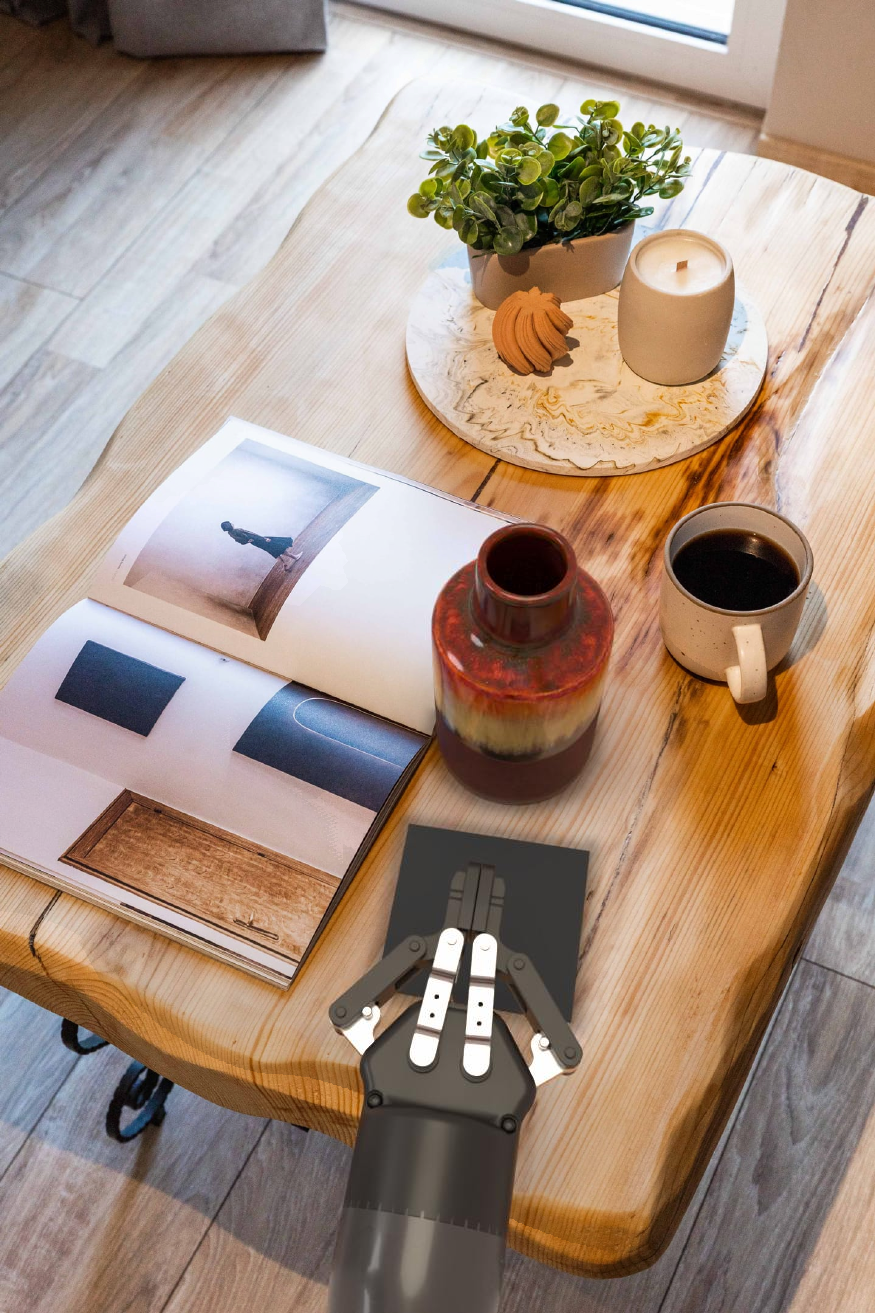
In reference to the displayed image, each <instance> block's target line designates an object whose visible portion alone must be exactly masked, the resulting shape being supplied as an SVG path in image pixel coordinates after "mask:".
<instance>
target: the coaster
mask: <svg viewBox="0 0 875 1313" xmlns="http://www.w3.org/2000/svg"><path fill="white" fill-rule="evenodd" d="M590 853H591V851H590V850H586V849H578V848H574V847H573V848H572V847H566V846H559V845H553V844H546V843H540V842H534V841H527V840H521V839H513V838H508V837H507V838H506V837H500V836H493V835H487V834H481V833H473V832H468V831H460V830H454V829H448V828H441V827H435V826H429V825H422V824H415V823H408V827H407V831H406V836H405V842H404V847H403V851H402V857H401V862H400V866H399V870H398V876H397V881H396V886H395V891H394V896H393V902H392V906H391V912H390V916H389V922H388V926H387V932H386V937H385V942H384V946H383V952H382V955H381V960H382V959H383V958H384V957H385V956H386V955H388V954H389V953H390V952H391V951H392V950H393V949H394V948H395V947H397V946H398V945H399V944H400V943H401V942H402V941H403V940H405V939H406V938H407V937H408V936H410V935H419V936H421V937H424V936H430V935H434V934H436V933H438V932H439V931H440V930H441V929H442V928H443V926H444V922H445V916H446V910H447V905H448V899H449V893H450V887H451V882H452V878H453V877H454V875H455V873H456V872H457V871H463V872H466V871H467V866H468V861H470V862H476V863H481V869H482V864H489V865H495V866H496V867H495V877H501V878H504V882H505V886H506V892H505V900H504V907H503V914H502V920H501V927H500V934H499V935H500V939H501V941H502V943H503V944H504V945H505V946H506V947H508V948H509V949H511V950H513V951H515V952H520V953H524V954H526V955H527V956H528V957H529V959H530V960H531V962H532V964H533V965H534V967H535V969H536V970H537V972H538V974H539V976H540V977H541V979H542V981H543V983H544V984H545V986H546V988H547V989H548V991H549V993H550V995H551V996H552V998H553V1000H554V1001H555V1003H556V1005H557V1007H558V1008H559V1010H560V1012H561V1013H562V1015H563V1017H564V1019H565V1020H566V1022H567V1023H572V1017H573V1007H574V999H575V989H576V981H577V972H578V963H579V961H578V960H579V954H580V953H579V952H580V945H581V936H582V926H583V917H584V908H585V898H586V888H587V879H588V872H589V871H588V870H589V864H590V863H589V861H590ZM471 938H472V934H471ZM472 952H473V943H471V940H470V943H469V942H466V947H465V953H464V956H463V960H462V964H461V968H460V972H459V976H458V980H457V985H456V989H455V995H454V1000H453V1003H454V1004H460V1005H468V1000H469V987H470V976H471V964H472ZM431 970H432V967H429V968H424V969H423V970H422V971H421V972H420V973H418V974H417V975H416V976H415V977H414V978H413V979H412V980H411V981H410V982H408V983H407V984H406V985H405V986H404V987H403V988H402V989H401V990H400V991H399V992H397V993H398V994H404V995H409V996H415V997H422V998H424V995H425V991H426V987H427V983H428V979H429V975H430V972H431ZM397 993H396V994H397ZM493 1010H497V1011H502V1012H503V1011H504V1012H509V1013H514V1014H519V1015H520V1014H521V1015H524V1013H523V1011H522V1009H521V1007H520V1006H519V1004H518V1002H517V1000H516V999H515V997H514V995H513V993H512V992H511V990H510V988H509V986H508V984H507V983H506V982H505V981H503V980H502V979H500V978H498V977H496V976H495V987H494V1001H493Z"/></svg>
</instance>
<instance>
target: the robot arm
mask: <svg viewBox="0 0 875 1313" xmlns="http://www.w3.org/2000/svg"><path fill="white" fill-rule="evenodd" d="M495 867H496V866H495V865H489V864H482V869H481V863H476V862H470V861H468V866H467V871H466V872H463V871H457V872H456V873H455V875H454V877H453V878H452V882H451V887H450V893H449V899H448V905H447V910H446V916H445V922H444V926H443V928H442V929H441V930H440V931H439V932H438V933H436V934H434V935H430V936H424V937H421V936H419V935H410V936H408V937H407V938H406V939H405V940H403V941H402V942H401V943H400V944H399V945H398V946H397V947H395V948H394V949H393V950H392V951H391V952H390V953H389V954H388V955H386V956H385V957H384V958H383V959H382V958H381V960H380V961H379V962H377V963H376V964H375V965H374V966H372V968H370V970H368V971H367V972H366V973H365V974H364V975H362V977H360V978H359V979H358V980H357V981H356V982H355V983H353V985H351V986H350V987H349V988H348V989H347V990H346V991H345V992H344V993H342V994H341V995H340V996H339V997H338V998H336V1000H335V1001H333V1002H332V1003H331V1005H330V1006H329V1007H328V1018H329V1022H330V1025H331V1026H332V1029H333V1030H334V1031H335V1033H336V1034H337V1035H339V1036H342V1037H344V1038H345V1039H346V1041H347V1042H348V1043H349V1044H350V1045H351V1047H353V1049H354V1050H355V1051H356V1052H357V1053H358V1055H359V1056H360V1060H359V1066H358V1067H359V1069H358V1070H359V1074H360V1075H359V1076H360V1078H361V1081H362V1085H363V1101H362V1105H361V1111H360V1112H361V1113H360V1116H359V1123H358V1127H357V1132H356V1136H355V1143H354V1148H353V1152H352V1157H351V1163H350V1168H349V1174H348V1177H347V1178H348V1179H347V1182H346V1188H345V1189H346V1190H345V1193H344V1198H343V1204H342V1209H341V1215H340V1220H339V1225H338V1229H337V1233H336V1240H335V1245H334V1250H333V1256H332V1260H331V1267H330V1272H329V1280H328V1281H329V1282H328V1291H327V1292H328V1294H327V1309H326V1313H498V1309H499V1304H500V1297H501V1292H502V1291H501V1290H502V1285H503V1284H502V1283H503V1277H504V1276H503V1275H504V1272H505V1269H506V1251H507V1244H508V1237H509V1236H508V1235H509V1234H508V1233H509V1228H510V1220H511V1212H512V1204H513V1196H514V1187H515V1181H516V1180H515V1179H516V1171H517V1162H518V1155H519V1146H520V1139H521V1131H522V1127H523V1126H522V1125H523V1123H524V1120H525V1118H526V1117H527V1114H528V1113H529V1112H530V1110H531V1109H532V1107H533V1106H534V1103H535V1100H536V1096H537V1090H539V1088H541V1087H543V1086H544V1085H547V1084H548V1083H549V1082H552V1081H554V1080H555V1079H556V1078H558V1077H560V1076H561V1075H562V1076H565V1077H568V1076H572V1075H574V1074H575V1073H576V1072H577V1071H578V1068H579V1065H580V1064H581V1062H582V1059H583V1056H584V1052H583V1049H582V1048H583V1047H582V1046H581V1044H580V1042H579V1041H578V1039H577V1038H576V1035H575V1034H574V1032H573V1031H572V1029H571V1027H570V1026H569V1023H568V1022H567V1021H566V1020H565V1019H564V1017H563V1015H562V1013H561V1012H560V1010H559V1008H558V1007H557V1005H556V1003H555V1001H554V1000H553V998H552V996H551V995H550V993H549V991H548V989H547V988H546V986H545V984H544V983H543V981H542V979H541V977H540V976H539V974H538V972H537V970H536V969H535V967H534V965H533V964H532V962H531V960H530V959H529V957H528V956H527V955H526V954H524V953H520V952H515V951H513V950H511V949H509V948H508V947H506V946H505V945H504V944H503V943H502V941H501V939H500V935H499V934H500V927H501V920H502V914H503V907H504V900H505V892H506V886H505V882H504V878H501V877H495ZM471 934H472V938H471ZM470 940H471V943H473V952H472V964H471V976H470V987H469V1000H468V1005H467V1004H458V1003H455V1002H453V1000H454V995H455V989H456V985H457V980H458V976H459V972H460V968H461V964H462V960H463V956H464V953H465V947H466V942H469V943H470ZM429 967H432V970H431V972H430V975H429V979H428V983H427V987H426V991H425V995H424V997H423V999H420V1000H417V1001H415V1002H413V1003H412V1004H410V1005H409V1006H408V1007H406V1009H405V1010H403V1012H402V1013H401V1014H400V1015H399V1016H397V1017H396V1019H395V1020H393V1021H392V1023H390V1025H388V1027H386V1028H385V1030H384V1031H382V1032H381V1033H380V1034H379V1035H378V1036H377V1037H376V1038H375V1033H376V1031H377V1029H378V1028H379V1027H380V1025H381V1024H382V1015H381V1014H382V1013H381V1010H380V1009H381V1008H382V1007H383V1006H384V1005H385V1004H387V1003H388V1002H389V1001H390V1000H391V999H393V997H394V996H396V995H397V992H399V991H400V990H401V989H402V988H403V987H404V986H405V985H406V984H407V983H408V982H410V981H411V980H412V979H413V978H414V977H415V976H416V975H417V974H418V973H420V972H421V971H422V970H423V969H424V968H429ZM495 976H496V977H498V978H500V979H502V980H503V981H505V982H506V983H507V984H508V986H509V988H510V990H511V992H512V993H513V995H514V997H515V999H516V1000H517V1002H518V1004H519V1006H520V1007H521V1009H522V1011H523V1013H524V1014H523V1015H524V1016H525V1018H526V1020H527V1022H528V1024H529V1025H530V1027H531V1029H532V1031H533V1032H534V1036H533V1037H532V1039H531V1042H530V1045H529V1051H530V1052H529V1053H530V1055H531V1059H532V1062H531V1064H530V1066H529V1065H528V1064H527V1061H526V1060H525V1058H524V1056H523V1054H522V1051H521V1050H520V1048H519V1045H518V1043H517V1042H516V1039H515V1038H514V1036H513V1034H512V1032H511V1030H510V1028H509V1026H508V1024H507V1022H506V1021H505V1019H504V1018H503V1017H502V1016H501V1014H499V1013H498V1012H496V1011H494V1009H493V1001H494V987H495Z"/></svg>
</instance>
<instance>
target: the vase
mask: <svg viewBox="0 0 875 1313" xmlns="http://www.w3.org/2000/svg"><path fill="white" fill-rule="evenodd" d="M576 554H577V553H576V551H575V549H574V547H573V545H572V544H571V542H570V541H569V540H568V539H567V538H566V536H564V535H563V534H562V533H560V532H559V531H557V530H556V529H554V528H552V527H550V526H547V525H544V524H541V523H536V522H516V523H512V524H508V525H505V526H502V527H500V528H499V529H497V530H495V531H493V532H492V533H491V534H490V535H488V536H487V538H485V540H484V541H483V542H482V543H481V546H480V548H479V550H478V553H477V557H476V558H474V559H472V560H471V561H469V562H468V563H466V564H464V565H463V566H462V567H460V568H459V569H458V570H457V571H456V572H455V573H453V574H452V575H451V577H450V578H448V580H447V581H446V583H444V584H443V586H442V588H441V590H440V592H439V593H438V595H437V596H436V599H435V602H434V605H433V608H432V614H431V619H430V636H431V637H430V638H431V658H432V659H431V660H432V661H431V662H432V675H433V694H434V696H433V697H434V710H435V711H434V713H435V729H436V740H437V745H438V746H437V747H438V750H439V753H440V756H441V759H442V761H443V763H444V765H445V766H446V768H447V770H448V772H449V773H450V774H451V776H453V778H454V779H455V780H456V781H457V782H458V783H459V784H460V785H461V786H462V787H463V788H464V789H466V790H468V791H469V792H470V793H472V794H474V795H475V796H476V797H480V798H482V799H485V800H486V801H490V802H493V803H496V804H502V805H509V806H525V805H531V804H537V803H540V802H543V801H546V800H549V799H552V798H553V797H555V796H557V795H559V794H561V793H562V792H564V791H565V790H566V789H568V788H569V787H571V785H572V784H573V783H574V782H575V781H577V779H578V777H579V776H580V775H581V774H582V772H583V771H584V769H585V767H586V765H587V763H588V762H589V759H590V756H591V752H592V748H593V745H594V741H595V736H596V731H597V726H598V721H599V716H600V711H601V707H602V701H603V696H604V693H605V688H606V682H607V678H608V677H607V676H608V672H609V668H610V667H609V666H610V663H611V658H612V652H613V647H614V642H615V641H614V640H615V619H614V613H613V610H612V606H611V603H610V601H609V599H608V597H607V595H606V593H605V591H604V589H603V588H602V587H601V585H600V584H599V583H598V581H597V580H596V579H595V578H594V577H593V576H592V575H591V574H590V573H589V572H588V571H587V570H586V569H584V568H582V567H581V566H580V565H578V561H577V560H578V558H577V556H576Z"/></svg>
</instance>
